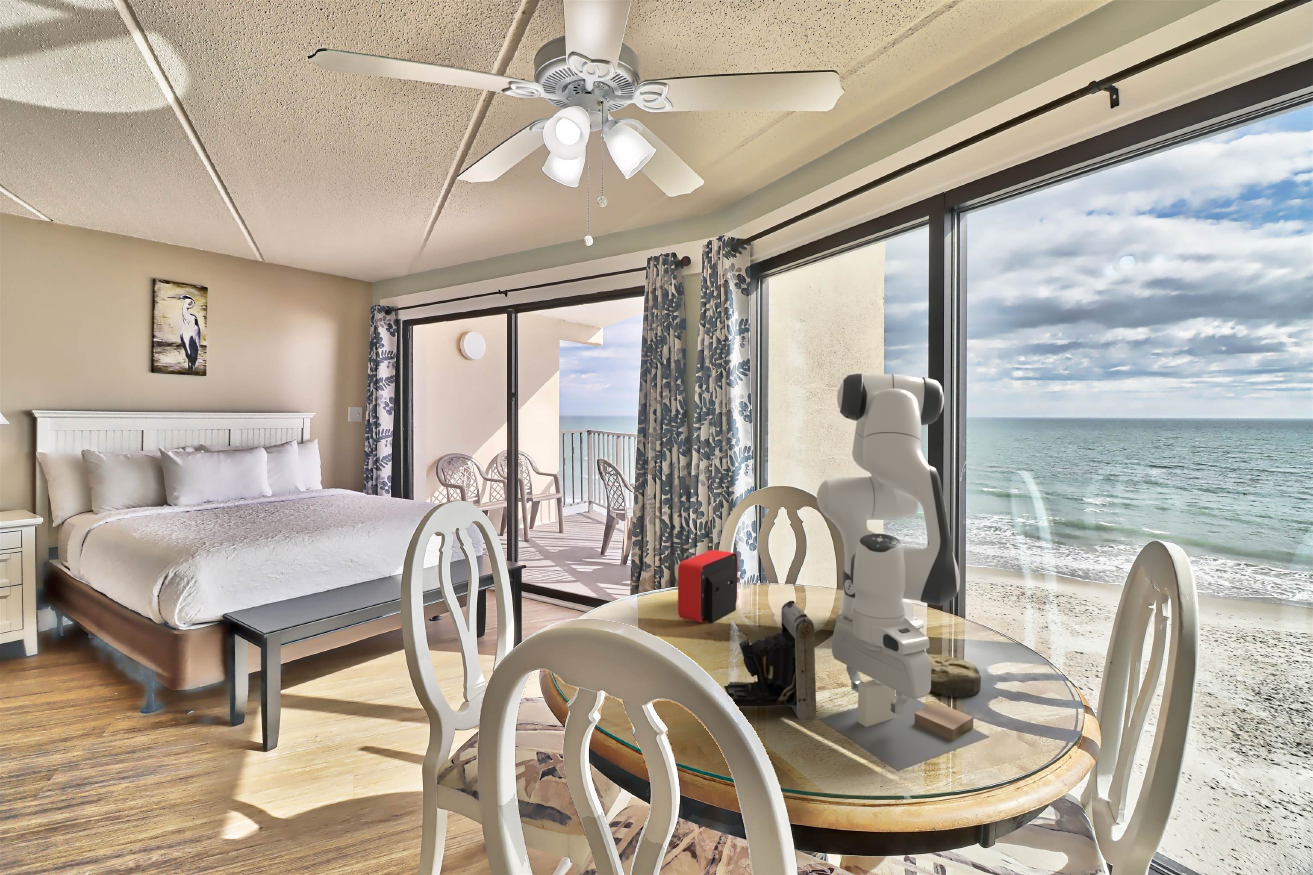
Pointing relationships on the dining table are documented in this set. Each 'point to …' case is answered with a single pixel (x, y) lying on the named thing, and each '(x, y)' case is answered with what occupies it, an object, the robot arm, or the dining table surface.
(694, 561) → the alarm clock
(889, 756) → the mat
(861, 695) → the box
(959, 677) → the stone
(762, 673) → the vintage camera
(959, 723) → the walnut block
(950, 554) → the robot arm
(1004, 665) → the dining table surface
